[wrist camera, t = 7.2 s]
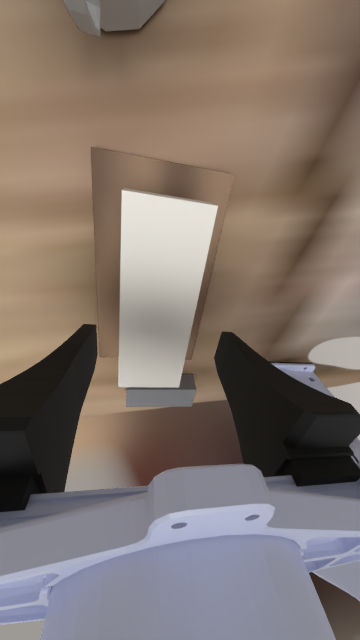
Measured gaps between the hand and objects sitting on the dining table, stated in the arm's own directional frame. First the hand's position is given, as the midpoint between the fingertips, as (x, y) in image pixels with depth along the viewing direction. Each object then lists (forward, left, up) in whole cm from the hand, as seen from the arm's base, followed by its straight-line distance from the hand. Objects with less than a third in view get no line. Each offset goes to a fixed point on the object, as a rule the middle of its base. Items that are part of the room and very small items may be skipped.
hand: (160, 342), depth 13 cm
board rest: (-2, +14, -10) cm, 17 cm away
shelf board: (0, 0, -5) cm, 5 cm away
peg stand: (0, 0, -10) cm, 10 cm away
